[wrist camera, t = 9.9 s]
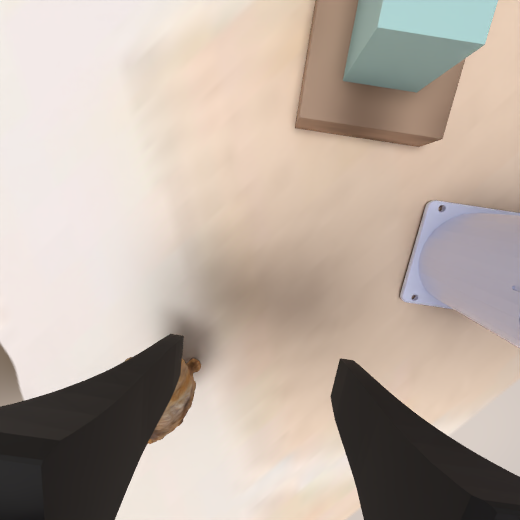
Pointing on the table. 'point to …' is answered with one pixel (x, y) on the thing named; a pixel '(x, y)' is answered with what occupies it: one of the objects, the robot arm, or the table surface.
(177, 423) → the lion figurine
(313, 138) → the table surface
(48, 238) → the table surface
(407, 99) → the walnut base block
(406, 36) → the teal brick
